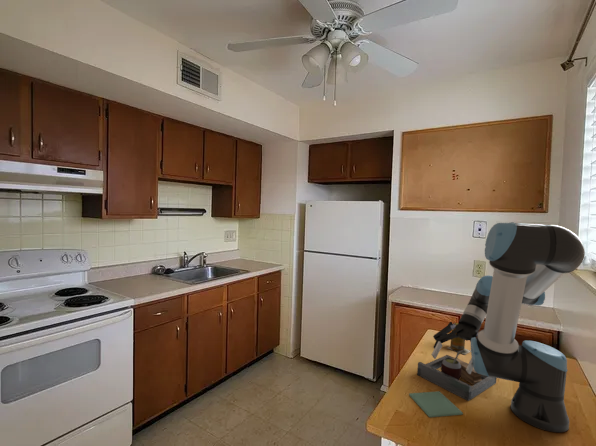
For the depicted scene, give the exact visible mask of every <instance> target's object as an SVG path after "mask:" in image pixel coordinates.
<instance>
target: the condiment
mask: <svg viewBox="0 0 596 446" xmlns="http://www.w3.org/2000/svg"><path fill="white" fill-rule="evenodd" d="M458 323H459V322H454V323H453V324H454V325H457V324H458ZM454 330H456V329H455V328H454ZM452 331H453V330H451V332H452ZM456 334H457V333H456ZM465 346H466V340H465V339H461V338H459V337H457V338H453V339H451V340H450V346H448V347H446V349H448V350H451V351H454V352H455V353H458V352H459V351H461V350H464V351H462V352H460V354H462V355H467V354H469V353H471V349H470V350H469V349H467V348H465Z"/></svg>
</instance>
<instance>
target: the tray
mask: <svg viewBox="0 0 596 446" xmlns="http://www.w3.org/2000/svg"><path fill="white" fill-rule="evenodd" d="M445 358H455V357H453V356H450V355H449V354H446V355H443V356H441V357H438V358H436V359H434V360H432V361H430V362H427V363H424V362H421V361H419V362H417V373H416V374H417V376H419V377H420V378H422V379H424V380H427V382H430V383H432V384H434V385H436V386H438V387H440V388H441V389H444V390H446V391H448V392H450V393H452V394H453V395H456V396H458V397H460V398H461V399H463V400H465V401H467V402H469V401H471V400H472V399H474V398H475V397H477V396H479V395H480V394H482V393H484V392H485V391H486V390H488V389H489V388H491V387H492V386H494V385H495V384H497V379H498V378H495V377H488V376H485V375H482V376H481V379H482V380H481V381H480V382H478V383H477V384H475V385H473V384H468V383H467V382H464V381H462V380H458V379H456V378H454V377H452V376H449V375H447V374H445V373H443V372H441V370H439V368H440V369H441V365H442V361H443V360H444V359H445ZM464 362H465V361H464ZM465 363H467V362H465ZM467 364H469V363H467Z"/></svg>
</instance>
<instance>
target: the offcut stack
mask: <svg viewBox="0 0 596 446" xmlns="http://www.w3.org/2000/svg"><path fill="white" fill-rule="evenodd" d="M455 358H456V357H454V358H452V359H455ZM456 360H457V361H459V363H460V365H461V369H462V371H461V377H460V379H463V380H465V381H466V382H468V383H470V385H472V386H473V385H475V384H477V383H478V382H480V381H481V380H483V379H482V378H481V376H482V375H481V374H478V373H477V372H476V371H475V370H474V367H473V369H472V372H471V374H468V372H467V371H466V369H467V366H468V364H469V363H468V364H467V362H466V363H465V361H464V360H462V359H460V358H458V357H457V359H456Z"/></svg>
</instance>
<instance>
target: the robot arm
mask: <svg viewBox="0 0 596 446" xmlns="http://www.w3.org/2000/svg"><path fill="white" fill-rule="evenodd" d="M485 239H486V240H485V244H484V245H485V248H484V258H485V259H486V260H488V261H489V262H488V263H489V265H490V267H491V268H492V269H493V273H492V275H484V276H481V277H480V279H479V280H478V281H477V283H476V284H475V285H476V286H475V289H474V290H473V293H472V295H471V296H470V299H469V301H468V303H467V305H466V307H465V309H464V310H463V312H462V315H461V317H460V318H459V320H458V322H457V323H458V324H457V325H454V323H453V322H452V321H450V322H448V324H447V325H446V326H444V327H443V328H442V329H440V331H438V332H437V333H435V334H433V336H432V337H433V339H434V341H435V343H434V345H433V351H432V353H431V357H432V358H433V359H434V360H436V359H437V357H438V355H439V352H440V350H441V349H442V348H443V343H446V342H448V341H451V339H453V338H457V337H459V338H461V339H465V342H466V341H467V342H468V341H469V342H470V351H471V352H470V354H471V357H470V360H469V363H468V366H467V369H466V371H467V372H468V374H471V372H472V369H473V367H474V370H475V371H476V372H477V373H478V374H481V375H485V376H488V377H495V378H497V379H501V380H507V381H512V382H516V383H519V384H518V387H517V390H515V393H514V395H513V397H512V398H511V401H510V409H511V412H513V414H514V415H515V416H516V417H518V419H520V420H521V421H523V422H525V423H527V424H529V425H531V426H532V427H535V428H537V429H541V430H543V431H547V432H552V433H564V432H567V431H568V430H569V429H570V428H569V427H570V418H569V415H568V413H567V408H566V404H565V391H566V382H567V381H566V380H567V373H568V359H567V357H566V355H565V354H564V353H562V352H561V351H560V350H558V349H556V348H555V347H552V346H550V345H548V344H544V343H541V342H539V341H534V340H523V341H522V343H521V345H520V344H519V342H518V341H517V340H516V339H515V337H516V332H517V328H518V323H519V318H520V314H521V313H520V312H521V308H522V305H528V306H542V305H543V304H544V302H545V300H546V291H547V290H548V289H549V288H550V287H551V286H552V285H553V284H555V283H557V281H558V280H559V279H560V278H561V277H563V275H564V274H570V273H573V272H574V271H576V269H578V268H579V267H580V266H581V265H582V263H583V261H584V259H585V254H586V252H585V246H584V244H583V242H582V240H581V239H580V237H579V236H578V235H577V234H576V233H574V231H571V230H570V229H568V228H566V227H564V226H560V225H556V224H538V223H535V224H534V223H521V222H520V223H518V222H515V221H514V222H513V221H512V222H497V223H495V224H494V225H493V226H491V227H490V229H489V230H488V233H487V236H486V238H485ZM484 320H485V322H484ZM483 322H484V327H483V329H482V330H480V329H481V327H482V325H483ZM454 328H455V329H456V330H454ZM452 330H453V331H452ZM456 333H457V334H456Z"/></svg>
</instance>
